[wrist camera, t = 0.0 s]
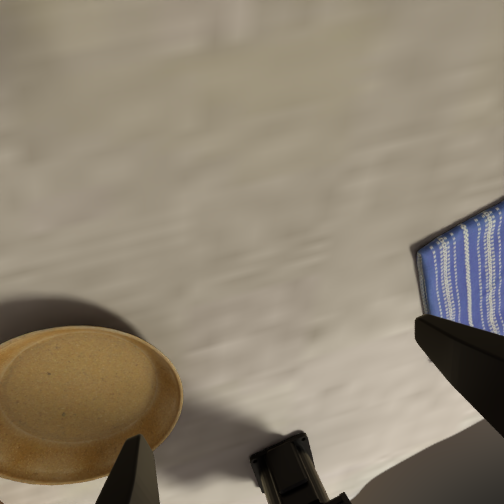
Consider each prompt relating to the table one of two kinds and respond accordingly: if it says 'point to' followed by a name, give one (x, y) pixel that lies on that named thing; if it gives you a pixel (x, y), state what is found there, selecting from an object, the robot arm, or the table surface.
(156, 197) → the table surface
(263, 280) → the table surface
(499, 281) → the dish towel
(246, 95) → the table surface
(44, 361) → the plant saucer
